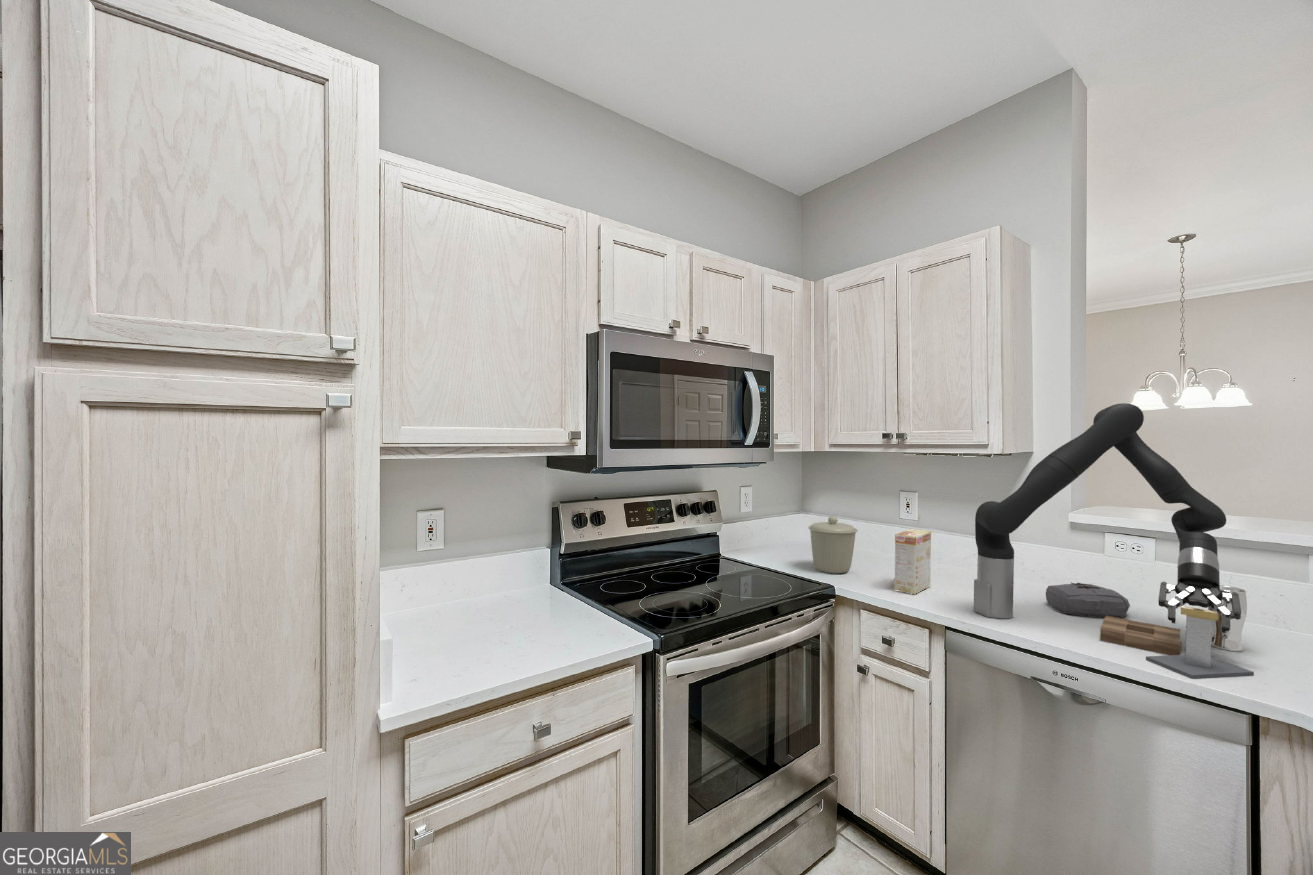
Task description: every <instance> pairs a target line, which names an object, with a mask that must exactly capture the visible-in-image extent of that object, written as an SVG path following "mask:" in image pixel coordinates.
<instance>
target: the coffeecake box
mask: <svg viewBox="0 0 1313 875" xmlns="http://www.w3.org/2000/svg"><path fill="white" fill-rule="evenodd" d="M931 550H932V531H929V530H922V529H917V528H910V529H907V530H904V531H902V532H898V533H895V534H894V591H895V590H899V591H902V592H901V593H903V592H908V593H912V594H915V595H917V594H919V593H921V592H922V590H923V591H924V589H925V588H926V589H928V588H930V587H931V569H932V568H931V565H932V564H931V562H932V560H931V559H932V558H931V557H932V556H931V555H932V554H931V553H932V552H931ZM929 586H930V587H929ZM926 589H925V590H926ZM920 591H921V592H920ZM918 592H919V593H918ZM908 593H907V594H908ZM916 593H917V594H916ZM912 594H911V595H912Z"/></svg>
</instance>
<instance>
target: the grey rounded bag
mask: <svg viewBox="0 0 1313 875" xmlns="http://www.w3.org/2000/svg"><path fill="white" fill-rule="evenodd" d="M1045 600H1046V602H1047V604H1048V605H1049V606H1050V607H1051V608H1053V609H1054V610H1056V611H1058V612H1059V611H1060V612H1059V613H1063V614H1067V615H1073V616H1081V617H1091V618H1105V617H1106V616H1112V617H1117V618H1123V617H1124V618H1125V617H1126V616H1127V615H1128V611H1129V608H1130V607H1131V604H1130V602H1129V599H1128V598H1126V597H1124V595H1122V594H1120V593H1119V592H1117V591H1116V590H1113V589H1110V588H1105V587H1102V586H1099V585H1095V584H1090V583H1081V582H1075V583H1073V582H1070V583H1065V584H1055V585H1048V586H1047V587H1046V589H1045Z"/></svg>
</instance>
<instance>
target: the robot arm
mask: <svg viewBox="0 0 1313 875" xmlns="http://www.w3.org/2000/svg"><path fill="white" fill-rule="evenodd" d="M1144 419H1145V417H1144V412H1143V410H1142V409H1141V408H1140V407H1139V406H1138V405H1134V404H1133V403H1127V402H1125V403H1124V402H1123V403H1116V404H1112V405H1109V406H1107V407H1105V408H1104V409H1101V410H1099V411H1098V412H1096V414H1095V416H1094V417H1093V421H1092V422H1093V424H1092V425H1090V427H1089V428H1087V429H1086V430H1085V431H1084V432H1083V433H1081V434H1080V435H1078V436H1077V437H1075V438H1073V439H1071V440H1069V441H1068V442H1065V443H1064V444H1062V445H1061V446H1060V447H1059V446H1058V448H1057V449H1055V450H1054V451H1052V452H1050V453H1049V454H1048V455H1046V457H1044V458H1042V459H1041V461H1039V462H1038V463H1037V464H1036V465H1035V466H1034V467H1033V468H1032V469H1031V471H1030V472H1029V473H1028V475H1027V476H1026V477H1025V479H1024V481H1023V482H1022V484H1021V485H1020V486H1019V488H1018V489H1016V491H1014V492H1013V493H1012V494H1010V495H1009V496H1007V497H1006V498H1005V499H1003V500H1001V501H995V500H994V501H993V500H991V501H990V500H989V501H985V502H983V503H982V504H980V505H979V506H978V508H977V509H976V512H975V517H974V518H975V519H974V522H975V524H974V527H975V528H974V534H975V537H974V538H975V543H976V544H975V545H976V548H977V572H976V574H977V575H976V576H977V577H976V579H974V580H973V611H974V612H975V613H978V614H980V615H982V616H985V617H986V618H994V619H1006V620H1007V619H1012V618H1013V617H1014V587H1015V586H1014V582H1015V581H1014V580H1015V579H1014V578H1015V577H1014V576H1015V550H1014V547H1013V545H1012V543H1011V539H1010V534H1012V533H1013V532H1015V531H1017V529H1019V527H1020V526H1022V524H1023V523H1024V522H1025V521H1026V520H1027V519H1028V518H1030V516H1031V515H1032V514H1033V513H1034V512H1035V511H1036V510H1038V509H1039V508H1040V507H1041V506H1043V505H1044V504H1045V503H1047V502H1048V501H1049V500H1051V499H1052V498H1053V497H1054V496H1055V495H1057V494H1058V493H1059V492H1061V491H1063V489H1065V488H1066V487H1067V486H1069V485H1070V484H1071V483H1073V482H1074V481H1075V480H1076V479H1078V478H1079V477H1080V476H1081V475H1082V474H1083V473H1084V472H1085V471H1087V470H1088V469H1089V468H1090V467H1091V466H1092V465H1094V464H1095V462H1097V461H1098V460H1099V458H1101V456H1103V455H1104V454H1105V453H1106V452H1108V451H1109V450H1110V449H1112V448H1115V449H1116V450H1117V451H1118V452H1119V453H1120V454H1121V455H1122V456H1123V457H1124V458H1125V459H1126V460H1127V461H1128V462H1129V463H1130V464H1131V465H1132V466H1133V467H1134V468H1135V469H1136V471H1138V473H1140V475H1141V476H1142V477H1143V478H1144V479H1145V481H1146V482H1147V483H1148V484H1149V486H1150V487H1151V488H1152V489H1153V490H1154V492H1155V493H1156V494H1157V496H1158V497H1159V498H1160V499H1161V500H1162V501H1163V502H1164V503H1165V504H1169V505H1171V504H1184V505H1186V506H1188V507H1186V508H1182V509H1179V510H1177V511H1175V512H1174V513H1173V514H1172V516H1171V520H1170V521H1171V525H1172V526H1173V529H1174V530H1175V533H1176V536H1177V538H1178V542H1179V546H1178V547H1179V548H1178V549H1179V550H1178V553H1179V554H1178V557H1177V579H1176V580H1177V581H1176V582H1177V583H1176V584H1175V585H1172V584H1168V583H1167V582H1166V581H1161V582H1160V585H1159V593H1158V606H1159V607H1164V608H1166V609H1167V619H1168V621H1170V622H1171V624H1176V619H1177V618H1176V616H1177V614H1176V613H1177V611H1176V610H1177V609H1178V608H1181V606H1185V605H1186V604H1188V605H1189V606H1192V607H1201V608H1204V609H1205V608H1206V609H1208V607H1210V608H1211V609H1212V610H1213V611H1215V612H1217V613H1218V614H1219V615H1220V616H1221V632H1223V633H1226V631H1229V630H1230V619H1237V620H1239V619H1241V606H1240V599H1239V594H1238V593H1236V592H1232V593H1231V594H1228V593H1222V592H1221V591H1220V585H1221V583H1220V562H1219V559H1218V542H1217V540H1216V539H1217V538H1215V537H1214V536H1213V535H1211V534H1210V533H1207V532H1210V531H1215V530H1218V529H1221V528H1223V527H1224V526H1225V525H1226V524H1227V517H1226V514H1225V512H1224V510H1222V509H1221V507H1220V506H1219V505H1217V504H1216V503H1214V502H1213V501H1212V500H1210V499H1208V498H1207V497H1205V496H1204V495H1203V494H1202V493H1201V492H1199V491H1198V490H1196V489H1195V488H1193V487H1192V486H1191V485H1190V484H1189V482H1188V481H1187V480H1186V479H1185V477H1184V476H1183V475H1182V473H1180V472H1179V471H1178V469H1177V468H1176V467H1175V466H1174V465H1172V463H1170V462H1169V461H1168V460H1166V459H1165V458H1164V457H1162V456H1161V455H1160V454H1159V453H1157V452H1156V451H1155V450H1153V449H1152V448H1151V447H1150V446H1148V445H1147V443H1146V442H1144V440H1143V439H1142V438H1141V437H1140V436H1139V434H1138V431H1139V430H1140V429H1141V428H1142V426H1143V423H1144V421H1145V420H1144ZM1171 592H1175V593H1176V594H1177V595H1175V597H1173V598H1172V599H1170V600H1168V599H1167V594H1171ZM1222 598H1224V599H1226V600H1227V602H1228V603H1230V604H1232V611H1229V610H1228V609H1226V608H1225V607H1224V606H1223V604H1222V603H1221V602H1220V600H1221V599H1222Z"/></svg>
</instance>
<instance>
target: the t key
mask: <svg viewBox="0 0 1313 875" xmlns="http://www.w3.org/2000/svg"><path fill="white" fill-rule="evenodd" d="M1180 615H1183V616H1184V615H1185V616H1186V617H1185V618H1186V620H1185V621H1186V622H1185V655H1186V656H1185V659H1186V664H1190V665H1194V666H1199V667H1203V668H1208V669H1210V664H1211V657H1212V646H1211V622H1212V621H1211V619H1212V620H1218V613H1217V612H1215V611H1209V610H1208V609H1202V608H1196V607H1190V606H1185V605H1183V606H1181V607H1180Z"/></svg>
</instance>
